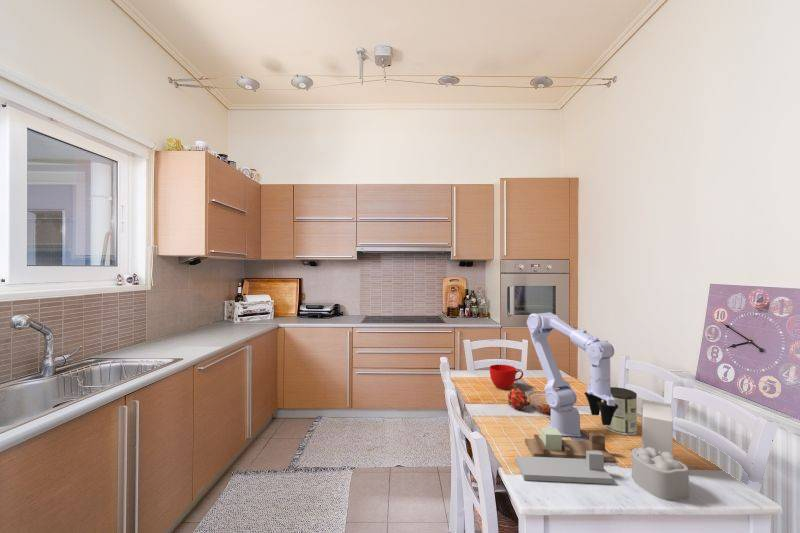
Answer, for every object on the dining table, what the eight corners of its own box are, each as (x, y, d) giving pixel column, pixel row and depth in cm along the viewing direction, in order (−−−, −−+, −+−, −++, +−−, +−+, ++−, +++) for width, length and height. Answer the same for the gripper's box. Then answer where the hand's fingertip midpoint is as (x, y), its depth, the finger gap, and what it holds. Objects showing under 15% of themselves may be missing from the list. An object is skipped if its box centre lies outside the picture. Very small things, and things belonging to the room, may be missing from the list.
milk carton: (673, 473, 102) (672, 407, 102) (643, 466, 106) (642, 403, 106) (670, 461, 108) (669, 400, 108) (642, 455, 112) (641, 396, 112)
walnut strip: (597, 445, 118) (597, 427, 118) (613, 461, 108) (613, 442, 108) (525, 442, 120) (524, 425, 120) (533, 458, 110) (533, 439, 110)
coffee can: (608, 420, 138) (608, 385, 138) (639, 428, 131) (639, 391, 131) (601, 429, 130) (601, 391, 130) (634, 438, 123) (633, 398, 123)
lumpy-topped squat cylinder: (662, 502, 89) (661, 468, 89) (621, 473, 102) (620, 443, 102) (695, 497, 91) (695, 464, 91) (651, 469, 104) (650, 440, 104)
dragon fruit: (514, 405, 158) (524, 420, 146) (499, 395, 157) (508, 409, 145) (526, 391, 157) (536, 404, 145) (511, 380, 156) (520, 393, 144)
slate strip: (595, 464, 106) (595, 444, 106) (612, 484, 96) (612, 462, 96) (515, 460, 108) (515, 441, 108) (524, 479, 98) (524, 458, 98)
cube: (556, 443, 116) (556, 428, 116) (561, 450, 111) (561, 434, 111) (540, 442, 117) (540, 427, 117) (545, 450, 112) (545, 434, 112)
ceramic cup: (527, 391, 171) (527, 371, 171) (493, 391, 171) (493, 371, 172) (519, 383, 184) (518, 364, 184) (487, 383, 184) (487, 364, 185)
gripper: (578, 371, 122) (578, 410, 122) (598, 384, 108) (598, 429, 107) (599, 372, 121) (599, 411, 121) (622, 385, 107) (622, 430, 107)
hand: (600, 419), depth 114 cm, fingers open, 7 cm apart
